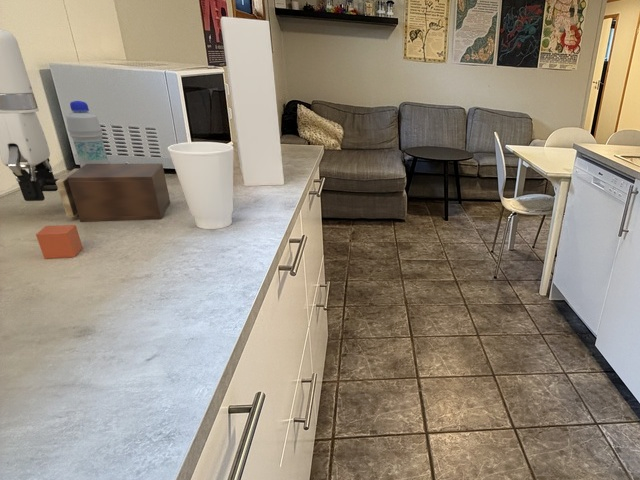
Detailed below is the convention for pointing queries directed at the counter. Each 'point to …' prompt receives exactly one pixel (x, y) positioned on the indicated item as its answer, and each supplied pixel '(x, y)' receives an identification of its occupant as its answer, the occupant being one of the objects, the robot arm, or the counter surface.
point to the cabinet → (119, 192)
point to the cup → (206, 181)
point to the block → (59, 241)
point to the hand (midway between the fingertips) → (41, 194)
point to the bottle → (86, 135)
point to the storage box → (253, 99)
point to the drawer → (62, 192)
